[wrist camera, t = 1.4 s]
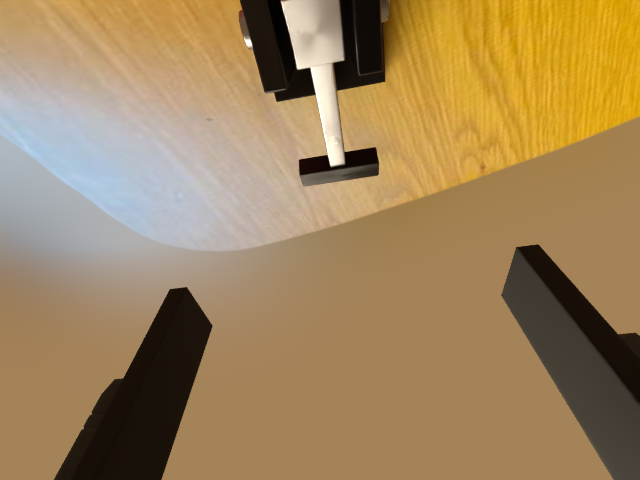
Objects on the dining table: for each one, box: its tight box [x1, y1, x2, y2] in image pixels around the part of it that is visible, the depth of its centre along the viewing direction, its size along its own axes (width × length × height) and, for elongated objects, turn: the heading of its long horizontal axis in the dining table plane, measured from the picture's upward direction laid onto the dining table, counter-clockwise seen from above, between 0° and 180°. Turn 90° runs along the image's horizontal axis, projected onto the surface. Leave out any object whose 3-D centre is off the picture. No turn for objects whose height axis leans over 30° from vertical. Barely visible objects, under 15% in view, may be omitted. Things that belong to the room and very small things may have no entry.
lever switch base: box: [239, 0, 390, 102], centre depth 17 cm, size 11×9×14 cm
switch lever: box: [280, 0, 379, 186], centre depth 17 cm, size 12×6×2 cm, turn 9°
